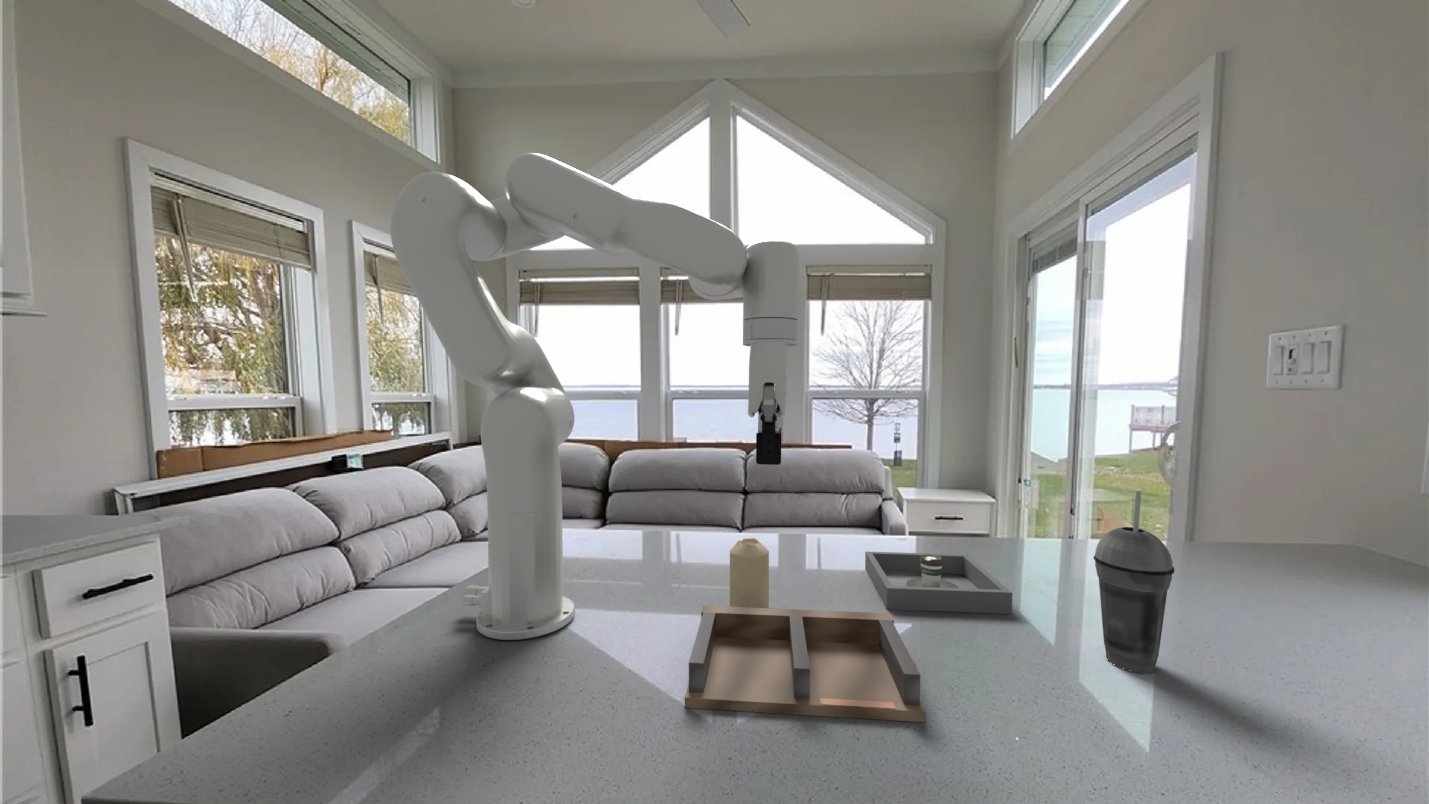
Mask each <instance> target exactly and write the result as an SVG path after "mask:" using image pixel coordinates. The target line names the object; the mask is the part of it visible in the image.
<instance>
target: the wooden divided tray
mask: <svg viewBox="0 0 1429 804" xmlns="http://www.w3.org/2000/svg"><path fill="white" fill-rule="evenodd" d="M700 613H701V614H700V616H701V617H700V618H701V619H700V623H699V626H698V630H697V633H696V636H695V640H694V644H693V647H692V650H691V654H690V658H689V660H688V685H687V689H686V692H685V696H684V709H685V708H687V709H702V710H717V711H718V710H719V711H732V712H733V711H734V712H735V711H736V712H749V713H753V712H752V711H755V712H754V713H765V714H766V713H769V714H785V715H797V716H798V715H800V716H814V717H815V716H817V717H819V716H820V717H830V718H831V717H833V718H848V719H850V718H852V719H867V720H880V721H881V720H883V721H898V722H899V721H901V722H914V723H915V722H917V723H926V720H927V718H926V715H927V714H926V713H927V712H926V710H925V707H924V705H923V703H922V701H921V674H920V671H919V669H918V668H917V665H916V663H915V662H914V659H913V658H912V656H911V655H910V652H909V651H908V648H907V647H906V645H905V643H904V642H903V640H902V638H901V635H900V634H899V631H898V630H897V628H896V625H895V620H894V618H893V616H892V613H890V612H870V611H869V612H866V611H865V612H864V611H844V610H840V611H839V610H821V609H820V610H817V609H795V608H793V609H792V608H790V609H789V608H774V607H773V608H749V607H730V606H725V605H723V606H721V605H720V606H719V605H718V606H717V605H702V609H701V611H700Z"/></svg>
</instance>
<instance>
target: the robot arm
mask: <svg viewBox="0 0 1429 804" xmlns="http://www.w3.org/2000/svg"><path fill="white" fill-rule="evenodd" d="M504 173H505V174H504V178H503V187H504V193H505V195H504V196H501V197H498V198H495V199H491V200H487V199H486V198H485V197H484V196H483V195H482V194H480V193H479V192H478V190H476V189H475V187H472V186H471V185H470V184H469V183H467V182H465V180H463V179H460V178H458V177H456V176H454V175H452V174H449V173H445V172H440V171H428V172H423V173H420V174H418V175H416V176H414V177H413V178H411V179H410V180H409V181H407V183H406V184H405V185H404V186H403V188H402V189H401V190H400V191H399V194H398V196H397V198H396V200H395V202H394V203H393V204H394V205H393V208H392V211H391V217H390V228H389V229H390V239H391V244H392V249H393V252H394V255H395V258H396V260H397V263H398V265H399V267H400V269H401V271H402V274H403V275H404V277H405V279H406V280H407V282H408V284H409V286H410V288H411V290H412V292H413V293H414V295H415V296H416V299H418V302H419V304H420V305H421V307H422V309H423V311H424V313H425V315H426V317H427V319H428V322H429V323H430V325H431V327H432V329H433V330H434V332H435V334H436V336H437V338H438V340H439V341H440V343H441V345H442V347H443V349H444V351H445V352H446V355H447V357H448V358H449V360H450V362H451V364H452V366H453V367H454V369H455V371H456V372H457V373H458V375H459V376H460V377H461V378H462V379H464V381H466V382H468V383H470V384H472V385H476V386H481V387H490V389H491V391H492V392H493V394H494V396H495V397H493V399H492V400H491V401H490V402H489V403H488V405H487V406H486V408H485V410H484V412H483V414H482V418H481V423H480V440H481V447H482V455H483V459H484V467H485V475H486V502H487V503H486V506H487V551H488V552H487V556H488V557H487V558H488V559H487V560H488V561H487V562H488V563H487V564H488V566H487V567H488V585H487V586H481V585H473V584H472V585H471V584H470V585H467V586H466V587H465V588H464V591H463V598H462V605H463V606H465V607H466V606H467V607H469V606H470V607H471V606H472V607H473V606H478V607H479V608H480V612H479V613H478V615H477V616H476V623H475V625H476V626H475V627H476V630H477V631H478V632H479V633H480V634H481V635H483V636H484V637H487V638H491V639H495V640H502V641H505V640H506V641H515V640H519V641H520V640H527V639H533V638H538V637H541V636H544V635H549V634H551V633H554V632H556V631H559V630H560V629H561V628H564V627H565V626H566V625H568V624H569V623H570V622H571V621H573V619H574V617H575V614H576V613H575V611H576V610H575V609H576V608H575V603H574V602H573V601H572V599H569V598H568V597H566V596H564V569H563V568H564V564H563V563H564V561H563V560H564V559H563V557H564V556H563V555H564V554H563V553H564V552H563V551H564V550H563V545H564V543H563V487H562V486H563V484H562V483H563V482H562V472H561V470H562V469H561V462H560V461H561V460H560V455H559V446H560V445H562V444H563V443H564V442H565V441H566V440H567V439H568V438H569V437H570V435H571V433H572V432H573V428H574V425H575V419H576V418H575V413H574V412H575V410H574V407H573V405H572V403H571V400H570V398H569V396H568V394H567V392H566V390H565V389H564V387H563V385H562V384H561V382H560V380H559V378H558V376H557V374H556V373H555V371H554V369H553V366H552V365H551V363H550V361H549V359H548V358H547V356H546V354H545V351H544V350H543V348H542V347H541V346H540V344H539V342H538V341H537V340H536V339H535V338H534V335H532V334H531V333H530V332H529V331H527V329H525V328H524V327H521V326H520V325H517V324H515V323H514V322H511V321H509V320H508V319H507V318H506V317H505V315H504V313H503V312H502V310H501V309H500V307H499V306H498V303H497V302H496V301H495V299H494V297H493V296H492V293H491V291H490V290H489V287H488V285H487V284H486V283H487V282H485V279H484V278H483V277H482V274H481V273H480V272H479V270H478V269H477V267H476V266H475V265H474V263H473V262H472V261H477V262H478V261H479V262H489V261H495V260H499V259H503V258H506V257H508V256H512V255H515V254H518V253H520V252H521V253H522V252H523V251H527V250H531V249H533V248H537V247H539V246H543V245H546V244H549V243H551V242H553V241H556V240H559V239H561V238H564V237H565V236H566V237H569V238H570V239H572V240H575V241H577V242H579V243H581V244H583V245H585V246H588V247H589V248H592V249H594V250H596V251H597V252H600V253H602V254H604V255H608V256H611V257H612V256H613V257H620V256H621V257H622V256H636V257H641V258H645V259H648V260H650V261H654V262H656V263H658V264H661V265H663V266H666V267H667V268H670V269H672V270H674V271H677V272H679V273H681V274H683V275H686V276H687V278H688V282H689V285H690V287H691V288H692V290H693V291H694V293H695V294H696V295H698V296H699V297H701V298H702V299H706V300H710V301H722V300H723V301H724V300H731V299H736V298H739V299H740V298H743V299H742V301H743V302H742V303H743V304H742V308H743V309H742V312H743V314H742V345H743V347H750V348H749V349H750V350H749V358H748V359H749V362H748V364H749V365H748V401H747V403H748V405H747V415H748V416H749V417H750V418H754V417H755V415H756V414H758V419H757V420H758V421H757V432H756V433H755V435H756V437H755V439H756V442H755V444H756V445H755V447H756V448H755V453H756V454H755V463H756V464H757V465H766V466H767V465H772V466H773V465H776V466H778V465H779V466H780V465H781V463H782V427H780V421H781V418H783V417H784V416H786V415H785V414H786V407H787V400H788V389H789V388H788V387H789V370H790V369H789V367H790V366H789V364H790V363H789V361H790V357H789V355H790V347H795V346H799V280H800V279H799V276H800V275H799V273H800V271H799V269H800V262H799V261H800V260H799V258H800V255H799V251H798V247H796V245H795V244H793V243H792V242H789V241H786V240H781V239H765V240H759V241H755V242H752V243H750V244H749V245H748V246H747V247H745V246H746V245H744V243H743V240H741V238H740V237H739V236H738V235H737V234H736V233H735V232H734V231H732V230H731V229H729V228H728V227H726V226H725V225H723V224H721V223H719V222H718V221H716V220H713V219H711V218H709V217H707V216H704V215H703V214H700V213H697V212H696V211H693V210H691V209H689V208H687V207H685V206H682V205H678V204H676V203H674V202H670V201H666V200H661V199H657V198H651V197H647V196H643V195H638V194H637V195H635V194H632V193H630V192H627V191H624V190H622V189H620V188H618V187H616V186H613V185H611V184H609V183H607V182H604V181H603V180H600V179H598V178H596V177H593V176H591V175H590V174H587V173H585V172H583V171H581V170H579V169H576V168H574V167H572V166H570V165H568V164H566V163H563V162H561V161H559V160H557V159H556V158H552V157H550V156H548V155H545V154H542V153H538V152H537V153H536V152H526V153H521V154H519V155H518V156H516V157H514V158H513V159H512V160H511V161H510V163H509V164H508V166H507V168H506V170H505V171H504Z"/></svg>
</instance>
